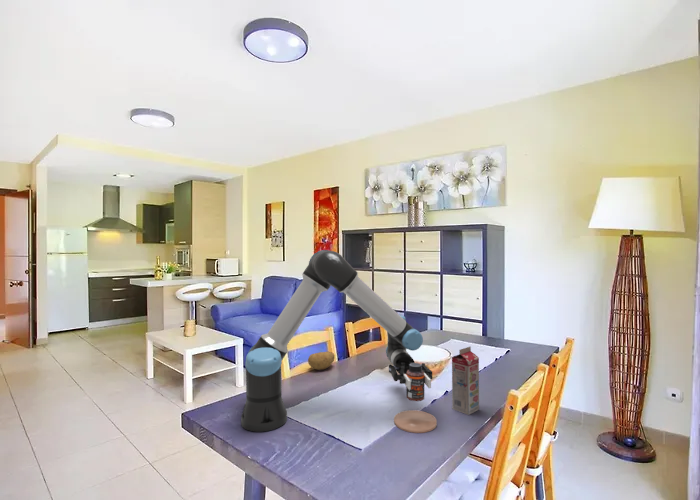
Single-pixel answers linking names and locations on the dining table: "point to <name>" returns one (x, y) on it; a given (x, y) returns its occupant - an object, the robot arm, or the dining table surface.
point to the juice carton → (465, 381)
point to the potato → (321, 360)
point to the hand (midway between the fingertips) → (419, 384)
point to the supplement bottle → (415, 382)
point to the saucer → (415, 421)
